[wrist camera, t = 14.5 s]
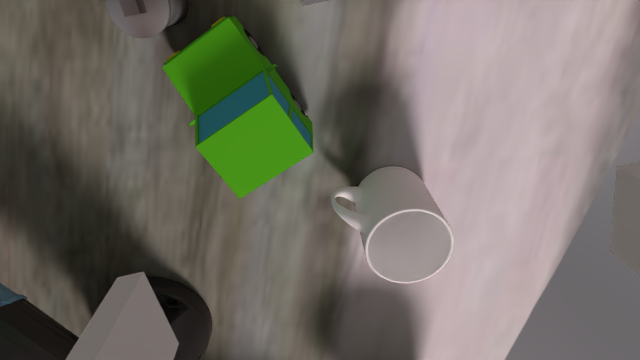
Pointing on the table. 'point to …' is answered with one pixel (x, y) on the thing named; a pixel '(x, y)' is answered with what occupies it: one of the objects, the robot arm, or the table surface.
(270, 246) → the table surface
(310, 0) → the crank handle
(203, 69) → the toy car
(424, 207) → the mug
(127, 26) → the bay
